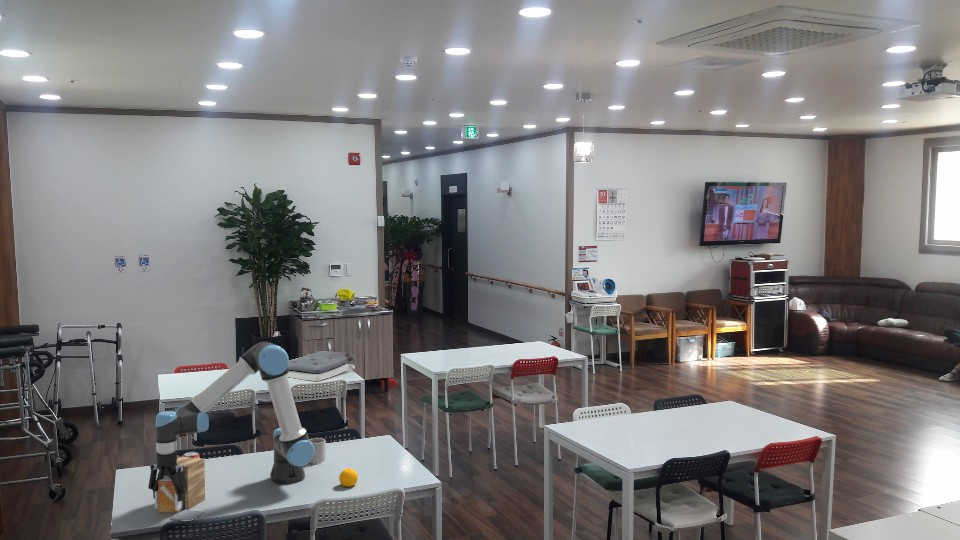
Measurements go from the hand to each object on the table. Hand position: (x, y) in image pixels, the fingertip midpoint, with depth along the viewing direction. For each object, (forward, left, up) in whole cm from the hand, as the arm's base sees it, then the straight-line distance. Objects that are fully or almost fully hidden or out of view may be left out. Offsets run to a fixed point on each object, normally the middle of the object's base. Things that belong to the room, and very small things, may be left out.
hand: (168, 507), depth 294 cm
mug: (-26, -75, -2) cm, 79 cm away
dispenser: (0, -10, -2) cm, 10 cm away
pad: (-10, +1, -2) cm, 10 cm away
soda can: (+14, -35, -2) cm, 37 cm away
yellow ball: (-56, -47, -2) cm, 73 cm away
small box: (0, -3, -2) cm, 3 cm away
